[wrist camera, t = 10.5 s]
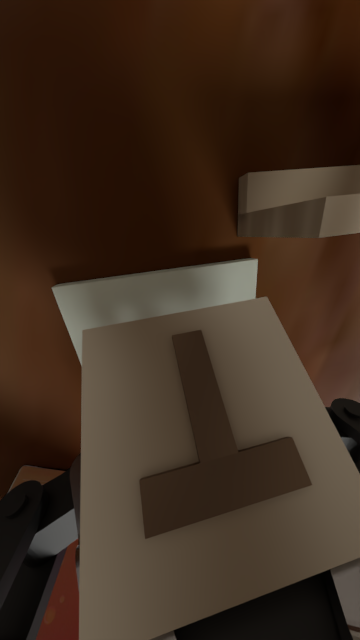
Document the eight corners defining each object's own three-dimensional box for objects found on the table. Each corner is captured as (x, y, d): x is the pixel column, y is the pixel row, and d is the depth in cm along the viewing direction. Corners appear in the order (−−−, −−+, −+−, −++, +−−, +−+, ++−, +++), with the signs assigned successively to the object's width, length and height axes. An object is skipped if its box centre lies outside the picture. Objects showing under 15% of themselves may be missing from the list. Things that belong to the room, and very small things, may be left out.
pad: (251, 257, 13) (257, 259, 12) (244, 385, 17) (248, 391, 17) (56, 284, 11) (51, 287, 10) (106, 417, 16) (105, 426, 15)
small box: (115, 473, 19) (92, 716, 9) (93, 507, 20) (54, 746, 11) (20, 462, 16) (-151, 798, 6) (3, 502, 17) (-159, 825, 8)
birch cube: (225, 353, 11) (269, 292, 6) (267, 473, 8) (407, 549, 3) (126, 374, 10) (79, 326, 5) (139, 512, 8) (72, 683, 3)
